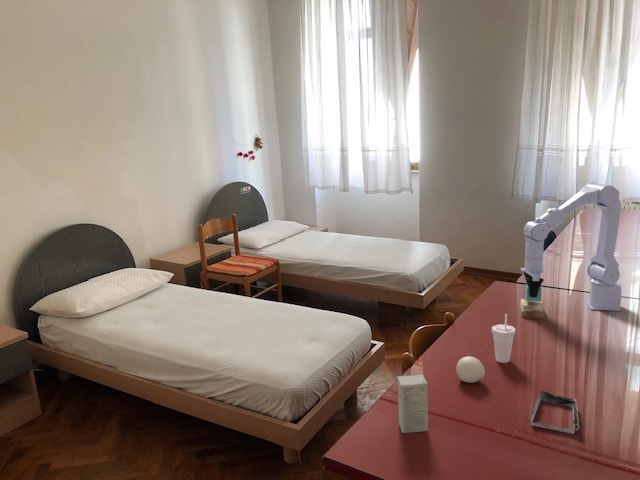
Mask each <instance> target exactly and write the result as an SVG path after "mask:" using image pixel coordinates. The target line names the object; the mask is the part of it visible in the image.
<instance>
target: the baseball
mask: <svg viewBox="0 0 640 480" xmlns="http://www.w3.org/2000/svg"><path fill="white" fill-rule="evenodd" d="M455 368H456V369H455V370H456V375H457V376H458V378H459V379H460V380H461V381H463V383H464V382H465V383H467V384H472V383H474V384H475V383H476V382H478V381H480V380H482V379H483V378H484V376H485V375H486V374H485V373H486V370H485V366H484V364H483V363H482V362H481V361H480V360H479V359H478V358H477V357H474V356H470V355H469V356H464V357H462V358H460V359H459V360H458V361H457V364H456V367H455Z"/></svg>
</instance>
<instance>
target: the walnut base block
mask: <svg viewBox="0 0 640 480" xmlns="http://www.w3.org/2000/svg"><path fill="white" fill-rule="evenodd" d="M518 307H519V308H518V309H519V314H520V317H521V318H530V319H531V318H533V319H545V318H546V312H545V309H544V308H545V307H543V312H537V311H523V310H522V307H521V303H519V306H518Z"/></svg>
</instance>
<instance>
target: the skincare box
mask: <svg viewBox="0 0 640 480" xmlns="http://www.w3.org/2000/svg"><path fill="white" fill-rule="evenodd" d="M396 379H397V381H396V383H397V384H396V385H397V405H398V407H397V408H398V412H397V413H398V414H397V415H398V424H399V427H400V428H399V429H400V431H401V433H402V434H405V433H417V432H418V433H419V432H428V431H429V401H428V400H429V399H428V396H429V395H428V381H427V380H426V377H425V376H424V374H423V373H422V374H421V373H420V374H411V375H410V374H409V375H408V374H407V375H398V376H396Z"/></svg>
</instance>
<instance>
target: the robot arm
mask: <svg viewBox="0 0 640 480" xmlns="http://www.w3.org/2000/svg"><path fill="white" fill-rule="evenodd" d="M620 192H621V191H619V190H618V189H617V188H616V187H615V186H614V185H610V184H602V183H599V182H594V181H592V182H588V183H586V185H585V186H582V187H581V188H580V190H579V192H577V193H576V194H575V195H573V196H572V197H571V198H570V199H568V200H567V201H566V202H565V203H563V204H561V206H559V207H558V208H556V207H552V208H548V209H547V210H546V212H544V213H543V214H542V215H541V216H539V217H536V218H535V219H534V220H533V221H532V220H530V221H529V222H527V223H526V224H525V225H524V227H523V229H522V235H523V236H525V240H524V241H525V246H524V247H525V249H524V250H525V251H524V267H521V268H520V272H523V275H524V278H525V282H526V285H528V288H529V295H530V297H532V298H537V295H538V291H539V288H540V287H541V286H542V283H543V282H544V278H540V277H541V275H543V272H544V269H543V267H544V246H545V240H546V239H547V237H548V236H549V233H550V232H551V231H553V230H554V229H555V228H557V227H558V226H559V225H561V224H563V223H564V222H565V219H566V218H565V217H566V216H569V215H570V214H571V213H573V212H574V211H576V210H578V209H579V208H581V207H583V206H584V205H587V204H589V205H591V204H592V205H594V204H595V205H596V206H597V207H598V208H599V209H600V210H601V216H600V223H599V224H600V225H599V232H598V240H597V245H596V246H597V247H596V252H595V253H596V254H595V255H593V256H592V257H591V258H590V262H589V264H588V265H587V268H586V273H587V275H588V277H589V278H590V279H589V280H590V287H589V299H588V300H586V301H585V303H586V304H587V306H588V307H589V309H590V310H593V311H594V310H597V311H617V312H618V311H619V312H620V311H621V310H622V309H621V302H622V285H621V284H620V283H619V280H620V278H621V273H620V269H619V266H620V265H619V262H618V260H617V259H616V258H615V253H616V245H617V237H618V233H619V232H618V231H619V224H620V220H621V218H620V216H621V213H622V212H621V210H622V204H621V201H620Z"/></svg>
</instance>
